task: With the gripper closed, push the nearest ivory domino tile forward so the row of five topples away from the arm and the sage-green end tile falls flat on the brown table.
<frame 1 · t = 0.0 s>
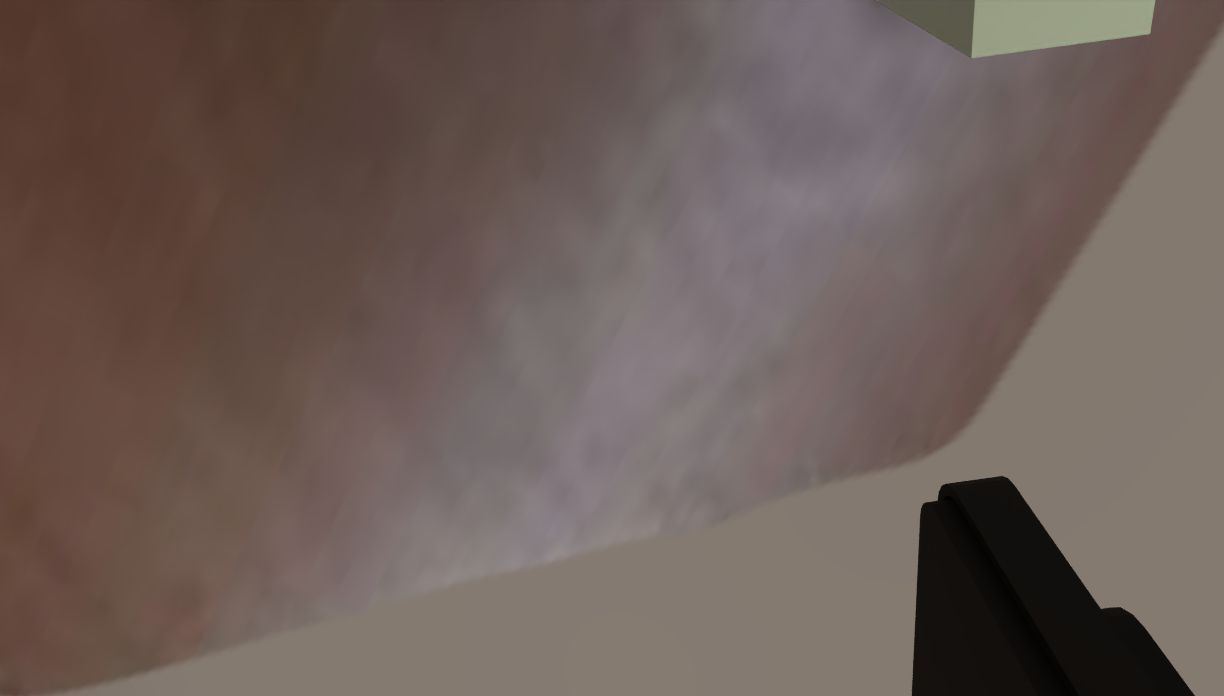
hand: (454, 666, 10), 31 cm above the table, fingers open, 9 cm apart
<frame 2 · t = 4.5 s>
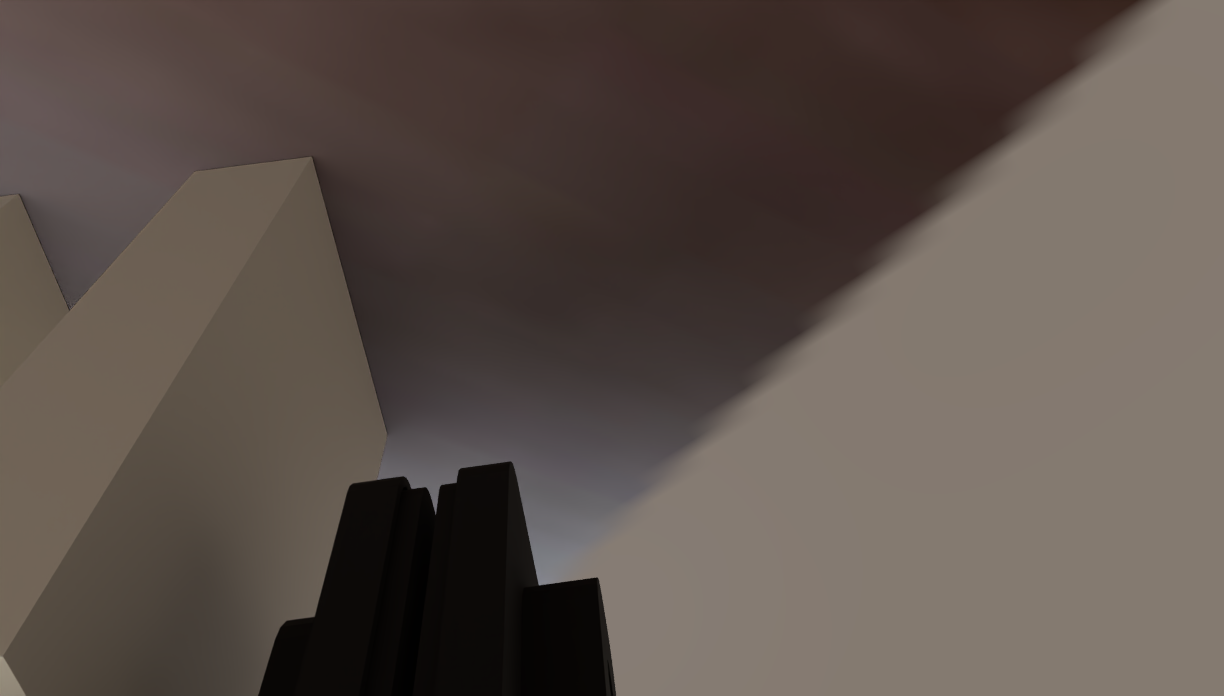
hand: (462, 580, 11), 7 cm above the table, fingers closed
tile 2: (28, 348, 16), on the table
tile 1: (298, 313, 16), on the table, touching gripper
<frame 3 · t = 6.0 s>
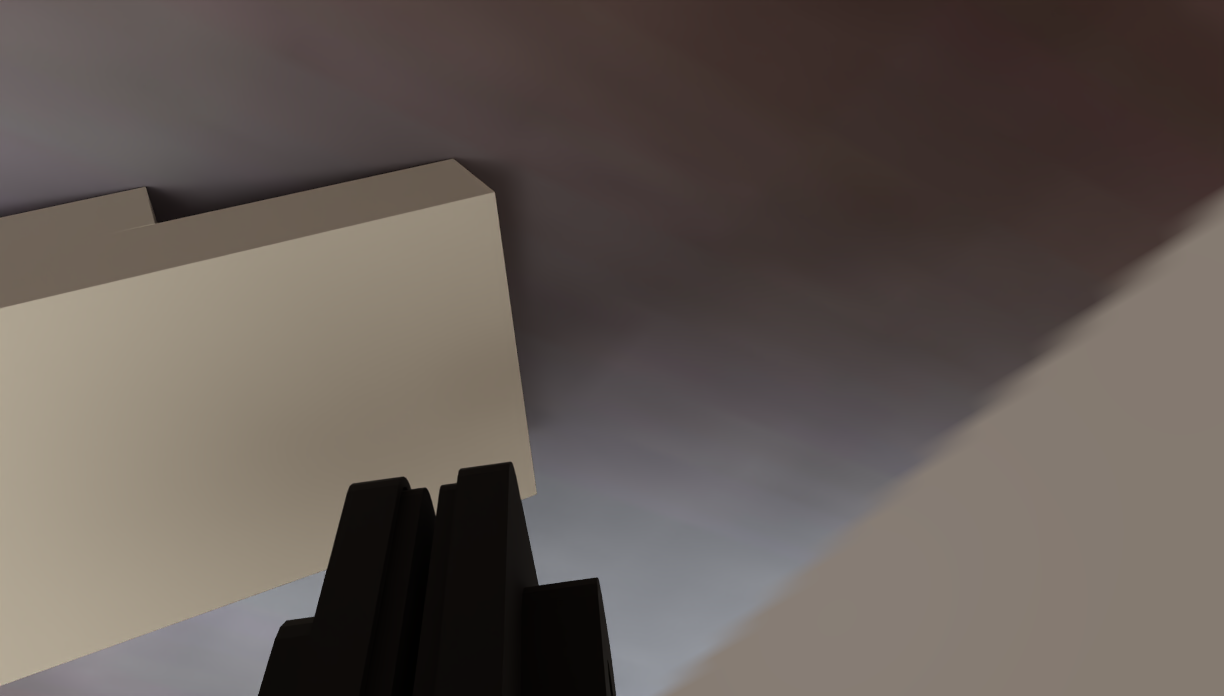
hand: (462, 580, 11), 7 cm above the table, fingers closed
tile 2: (201, 360, 16), point 1 cm above the table, tilted 68°, touching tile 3
tile 1: (496, 332, 16), point 1 cm above the table, tilted 68°
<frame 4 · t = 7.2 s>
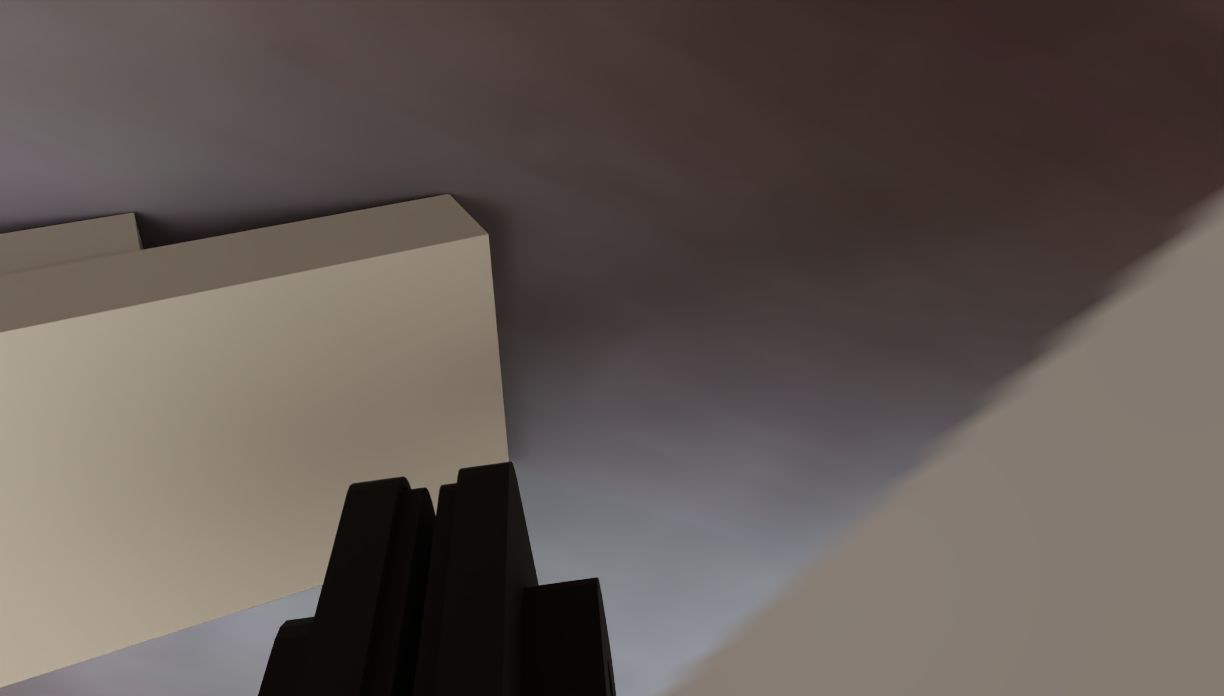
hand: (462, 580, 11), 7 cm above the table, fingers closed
tile 2: (178, 384, 16), point 1 cm above the table, tilted 68°, touching tile 1
tile 1: (483, 364, 16), point 1 cm above the table, tilted 68°, touching tile 2
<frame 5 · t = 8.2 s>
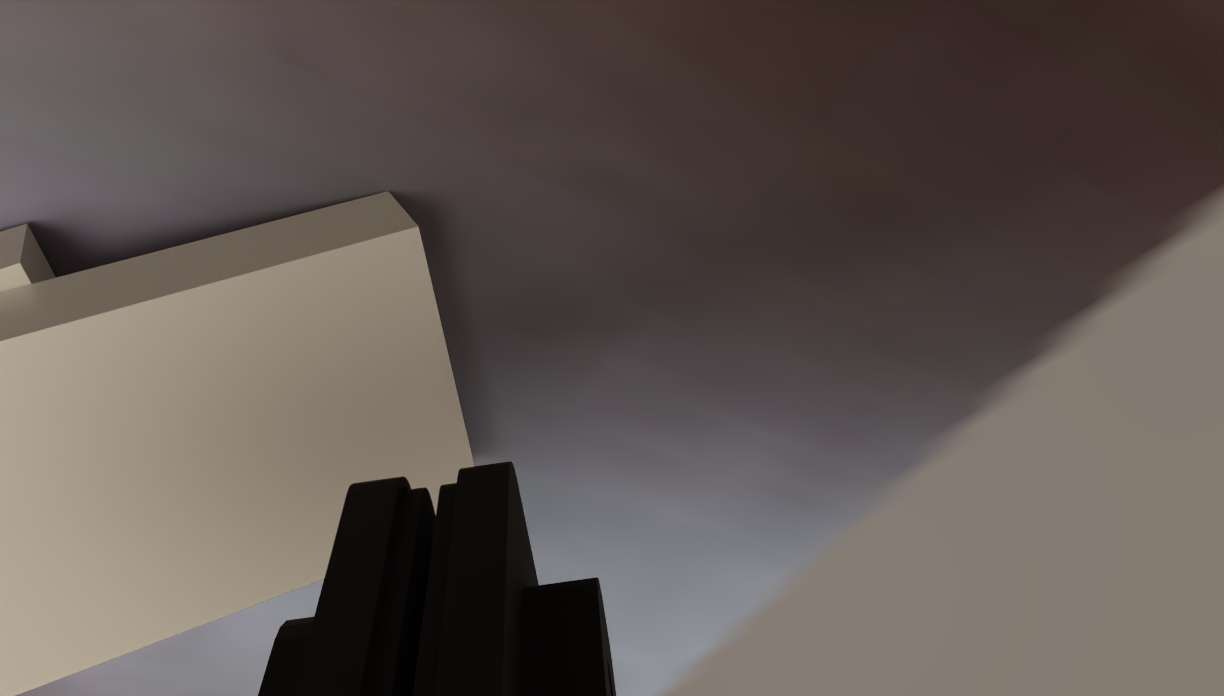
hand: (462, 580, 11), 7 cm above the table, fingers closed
tile 2: (103, 389, 16), point 1 cm above the table, tilted 69°, touching tile 1, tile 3
tile 1: (439, 359, 16), point 1 cm above the table, tilted 69°, touching tile 2
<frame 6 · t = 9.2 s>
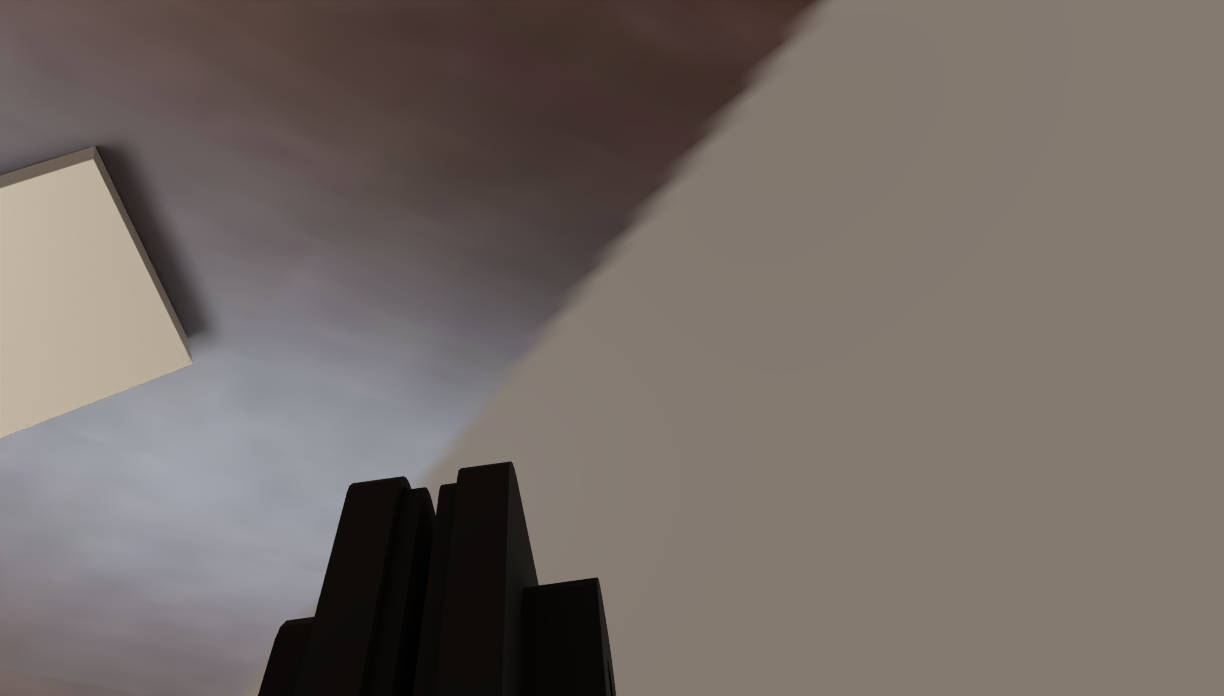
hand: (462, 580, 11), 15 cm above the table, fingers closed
tile 1: (144, 256, 23), point 1 cm above the table, tilted 71°, touching tile 2
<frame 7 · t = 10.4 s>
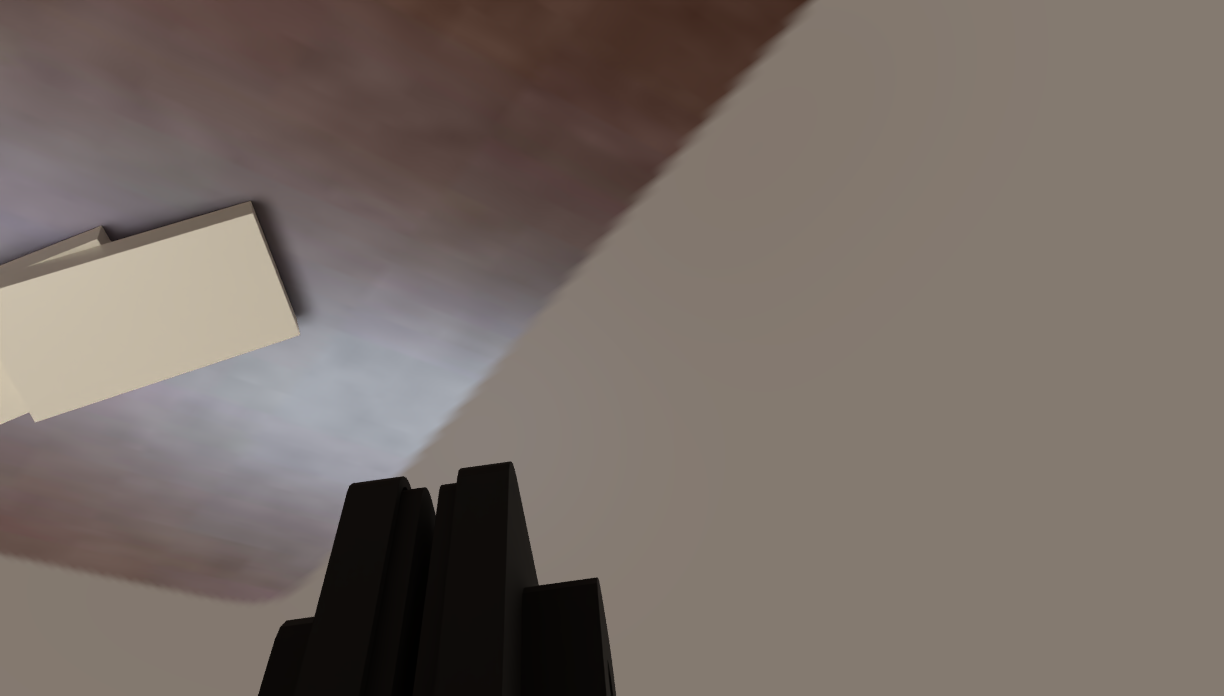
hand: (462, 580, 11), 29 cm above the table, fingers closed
tile 2: (134, 290, 39), point 1 cm above the table, tilted 73°, touching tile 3
tile 1: (275, 268, 39), point 1 cm above the table, tilted 73°
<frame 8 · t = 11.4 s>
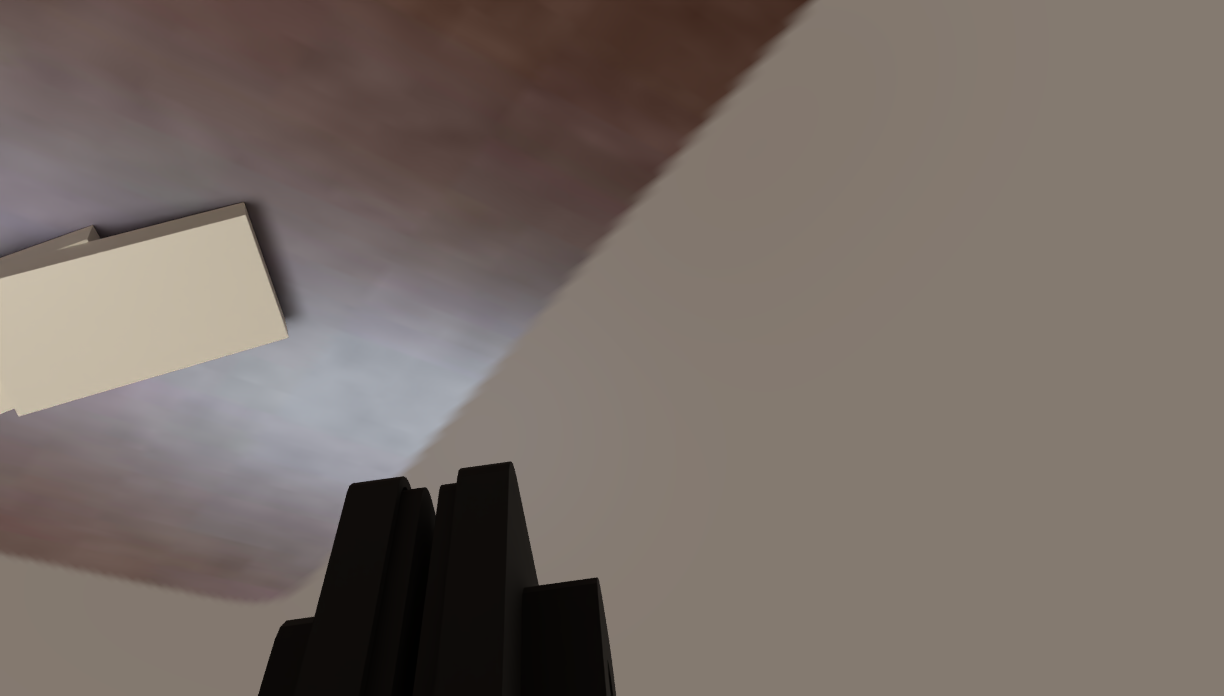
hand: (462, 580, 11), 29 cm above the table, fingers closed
tile 2: (123, 290, 39), point 1 cm above the table, tilted 74°, touching tile 1, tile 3
tile 1: (266, 270, 39), point 1 cm above the table, tilted 73°, touching tile 2
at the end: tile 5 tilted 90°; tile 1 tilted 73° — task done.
